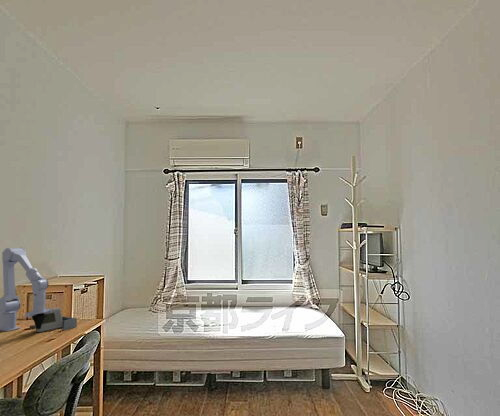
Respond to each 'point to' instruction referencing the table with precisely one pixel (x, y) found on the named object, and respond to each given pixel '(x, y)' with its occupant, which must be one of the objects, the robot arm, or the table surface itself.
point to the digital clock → (51, 321)
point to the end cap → (68, 323)
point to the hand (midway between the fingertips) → (38, 328)
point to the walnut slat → (32, 327)
